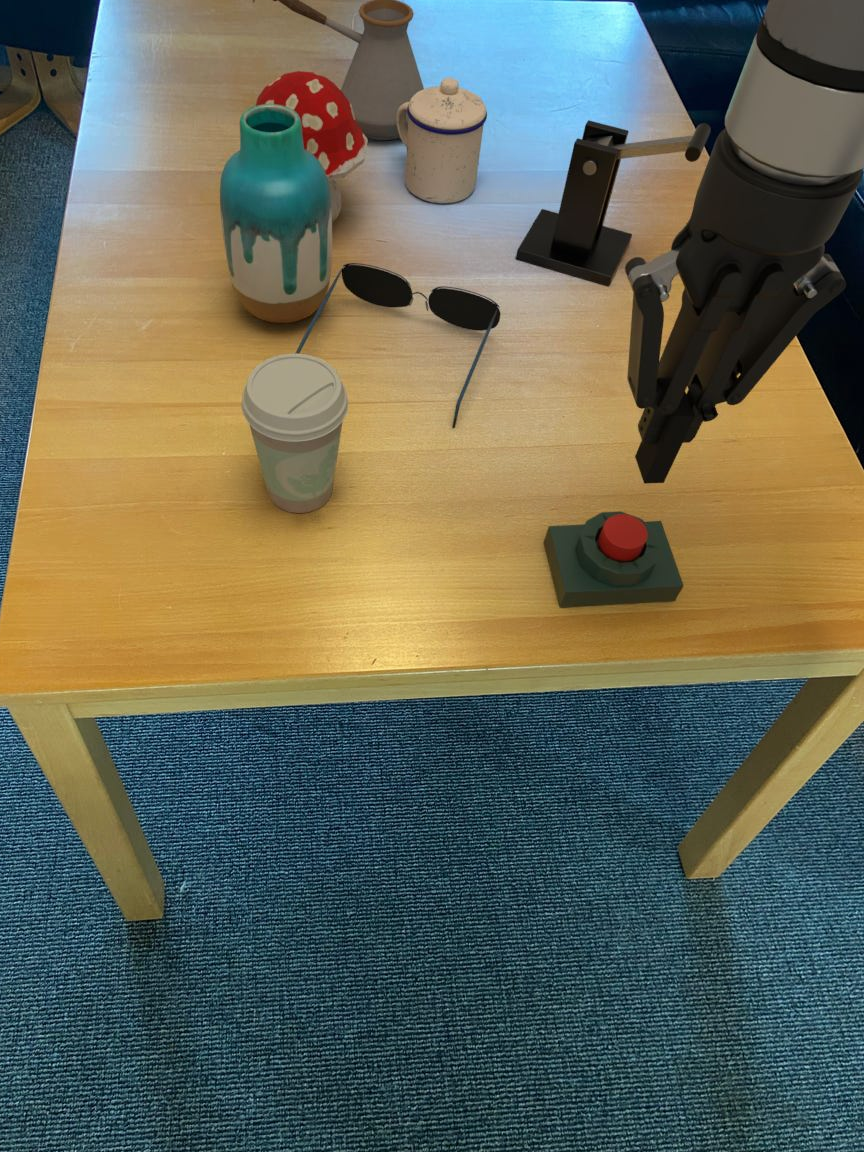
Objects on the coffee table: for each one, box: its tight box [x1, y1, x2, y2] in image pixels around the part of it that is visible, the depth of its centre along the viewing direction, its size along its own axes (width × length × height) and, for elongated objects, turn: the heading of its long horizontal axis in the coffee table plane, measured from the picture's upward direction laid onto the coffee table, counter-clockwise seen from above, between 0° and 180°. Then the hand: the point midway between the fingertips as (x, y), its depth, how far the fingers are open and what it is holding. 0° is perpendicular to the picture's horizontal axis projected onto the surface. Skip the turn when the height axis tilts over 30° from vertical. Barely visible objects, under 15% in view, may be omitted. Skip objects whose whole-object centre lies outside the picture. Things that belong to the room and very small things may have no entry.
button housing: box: [543, 511, 685, 608], centre depth 72 cm, size 10×7×4 cm
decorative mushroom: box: [254, 70, 369, 224], centre depth 93 cm, size 14×14×15 cm
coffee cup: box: [241, 352, 349, 514], centre depth 72 cm, size 8×8×12 cm
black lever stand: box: [515, 120, 633, 287], centre depth 93 cm, size 11×9×13 cm
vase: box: [219, 104, 333, 324], centre depth 83 cm, size 11×11×19 cm
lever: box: [586, 122, 712, 163], centre depth 87 cm, size 12×5×2 cm, turn 67°
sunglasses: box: [295, 262, 501, 429], centre depth 86 cm, size 17×15×5 cm
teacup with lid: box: [396, 77, 488, 204], centre depth 100 cm, size 12×9×12 cm
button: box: [598, 514, 648, 561], centre depth 70 cm, size 4×4×2 cm
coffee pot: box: [252, 0, 425, 141], centre depth 105 cm, size 21×12×15 cm, turn 89°
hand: (649, 469), depth 63 cm, fingers closed
